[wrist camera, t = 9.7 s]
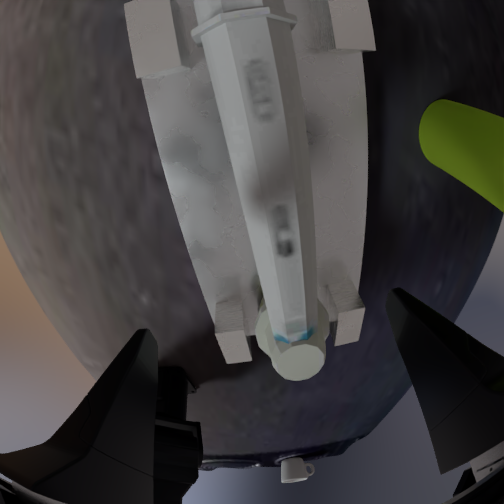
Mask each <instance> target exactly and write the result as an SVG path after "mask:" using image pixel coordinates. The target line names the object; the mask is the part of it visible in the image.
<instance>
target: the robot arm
mask: <svg viewBox="0 0 504 504" xmlns="http://www.w3.org/2000/svg"><path fill="white" fill-rule="evenodd" d="M386 312H387V315H388V318H389V321H390V324H391V327H392V331H393V334H394V337H395V340H396V343H397V346H398V349H399V351H400V353H401V356H402V358H403V361H404V363H405V366H406V368H407V371H408V373H409V376H410V379H411V381H412V384H413V387H414V389H415V392H416V395H417V398H418V400H419V403H420V406H421V409H422V412H423V415H424V418H425V421H426V424H427V427H428V430H429V434H430V437H431V441H432V444H433V447H434V451H435V455H436V459H437V463H438V466H439V470H440V473H441V474H444V473H446V472H448V471H450V470H453V469H454V468H457V467H459V466H461V465H463V464H465V463H467V462H469V461H470V464H471V467H469V468H468V469H466V470H465V471H464V472H463V475H462V477H461V479H460V481H459V483H458V485H457V488H456V490H455V492H454V494H453V498H452V499H450V500H448V501H446V502H445V503H443V504H504V357H503V356H501V355H500V354H498V353H497V352H495V351H493V350H492V349H490V348H488V347H487V346H485V345H484V344H482V343H481V342H479V341H478V340H476V339H475V338H473V337H472V336H471V335H469V334H467V333H466V332H465V331H464V330H462V329H461V328H459V327H458V326H456V325H455V324H454V323H452V322H451V321H449V320H448V319H446V318H445V317H444V316H442V315H441V314H439V313H438V312H436V311H435V310H433V309H432V308H430V307H429V306H427V305H426V304H424V303H423V302H421V301H420V300H418V299H417V298H415V297H414V296H412V295H411V294H409V293H408V292H406V291H405V290H403V289H401V288H394V289H391V290H390V291H389V293H388V297H387V301H386ZM192 393H196V388H195V387H194V385H193V384H192V382H191V381H190V379H189V378H188V376H187V375H186V373H185V372H184V370H183V369H182V368H179V367H175V368H158V345H157V342H156V340H155V338H154V337H153V335H152V333H151V332H150V330H149V329H147V328H146V329H138V330H137V331H136V332H135V334H134V335H133V336H132V337H131V338H130V340H129V341H128V342H127V343H126V345H125V346H124V347H123V348H122V350H121V351H120V352H119V354H118V355H117V356H116V357H115V359H114V360H113V361H112V362H111V364H110V365H109V366H108V368H107V369H106V370H105V371H104V373H103V374H102V375H101V377H100V378H99V379H98V381H97V382H96V383H95V384H94V386H93V387H92V388H91V390H90V391H89V392H88V395H87V396H85V398H84V399H83V400H82V402H81V403H80V404H79V406H78V407H77V408H76V410H75V411H74V412H73V413H72V414H71V415H70V416H69V418H68V419H67V420H66V421H65V422H64V423H63V424H62V426H61V427H60V428H59V429H58V430H57V431H56V432H55V434H54V435H53V436H52V437H51V438H50V439H48V440H47V441H46V442H44V443H42V444H40V445H36V446H33V447H29V448H26V449H22V450H18V451H14V452H10V453H5V454H0V473H1V474H3V475H4V476H6V477H8V478H9V479H11V480H12V483H10V482H8V481H6V480H4V479H2V478H0V504H182V497H183V496H184V495H185V494H186V492H187V491H188V490H189V488H190V487H191V486H192V484H194V483H195V482H196V480H197V479H198V468H200V466H201V464H202V460H203V444H202V435H201V426H200V422H191V421H186V412H187V395H188V394H192Z"/></svg>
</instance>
